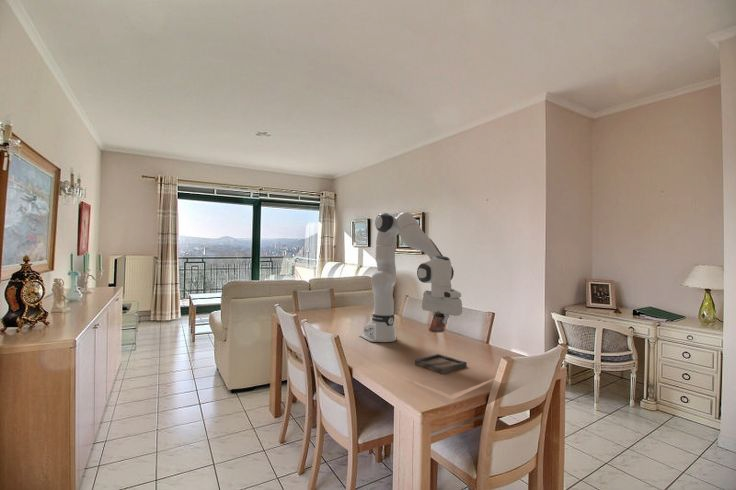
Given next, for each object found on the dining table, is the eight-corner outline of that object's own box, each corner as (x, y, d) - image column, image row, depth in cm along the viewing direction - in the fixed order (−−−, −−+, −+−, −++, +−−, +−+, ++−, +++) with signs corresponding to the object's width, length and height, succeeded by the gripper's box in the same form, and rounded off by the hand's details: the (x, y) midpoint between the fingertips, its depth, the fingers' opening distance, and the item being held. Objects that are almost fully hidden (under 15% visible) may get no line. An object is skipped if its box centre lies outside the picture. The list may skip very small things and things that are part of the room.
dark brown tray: (415, 364, 158) (415, 360, 158) (438, 358, 168) (438, 353, 168) (443, 374, 145) (443, 369, 145) (466, 366, 156) (466, 362, 156)
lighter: (431, 332, 156) (438, 312, 153) (427, 328, 158) (433, 308, 156) (445, 332, 160) (451, 312, 157) (440, 328, 163) (447, 309, 160)
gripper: (419, 290, 164) (418, 320, 163) (455, 294, 148) (455, 327, 147) (428, 289, 168) (427, 318, 167) (464, 293, 152) (464, 326, 151)
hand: (440, 323), depth 157 cm, fingers closed on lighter, 3 cm apart
